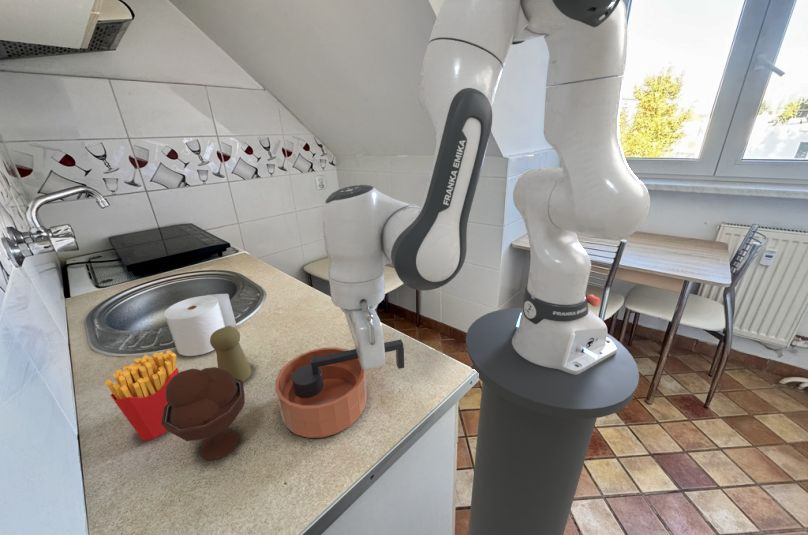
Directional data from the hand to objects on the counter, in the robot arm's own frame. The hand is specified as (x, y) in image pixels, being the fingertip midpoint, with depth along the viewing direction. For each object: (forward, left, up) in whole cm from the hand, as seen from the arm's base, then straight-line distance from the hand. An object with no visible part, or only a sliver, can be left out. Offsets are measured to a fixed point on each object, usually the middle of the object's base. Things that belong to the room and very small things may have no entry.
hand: (363, 356), depth 58 cm
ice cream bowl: (+25, +3, -9) cm, 26 cm away
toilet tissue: (+34, -30, -9) cm, 46 cm away
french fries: (+35, -5, -9) cm, 36 cm away
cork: (+25, -14, -9) cm, 30 cm away
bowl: (+8, 0, -9) cm, 12 cm away
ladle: (+3, 0, -4) cm, 5 cm away
